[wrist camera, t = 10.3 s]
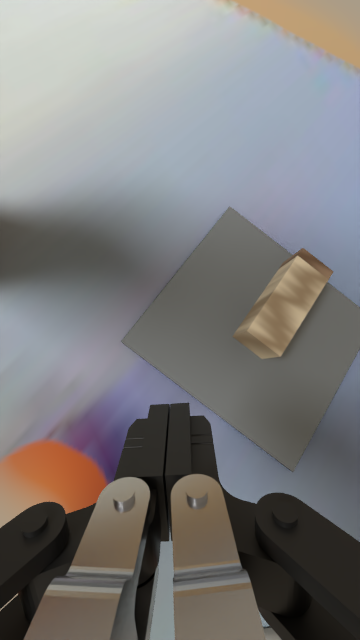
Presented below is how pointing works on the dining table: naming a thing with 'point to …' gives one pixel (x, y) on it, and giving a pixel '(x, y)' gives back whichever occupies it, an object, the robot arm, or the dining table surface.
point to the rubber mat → (236, 359)
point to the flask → (271, 634)
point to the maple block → (283, 305)
